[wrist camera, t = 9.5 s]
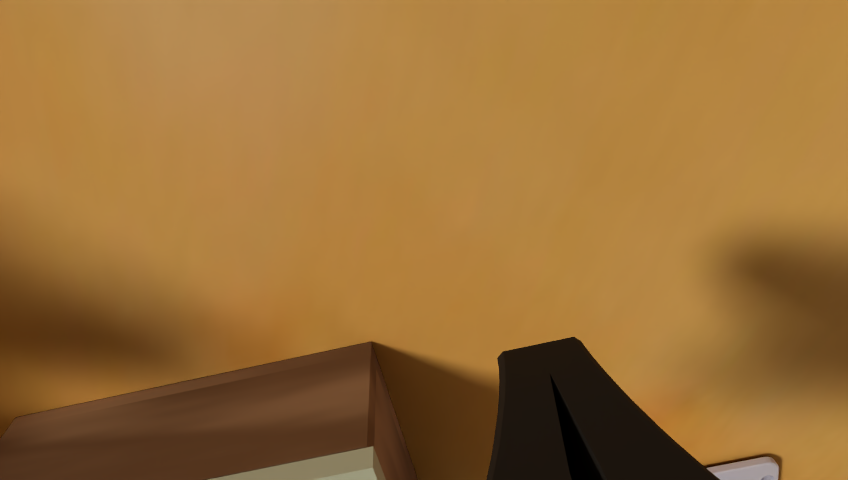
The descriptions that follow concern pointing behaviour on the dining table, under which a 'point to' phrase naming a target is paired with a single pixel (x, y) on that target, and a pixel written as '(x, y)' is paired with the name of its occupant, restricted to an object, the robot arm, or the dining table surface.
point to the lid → (321, 468)
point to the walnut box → (217, 425)
